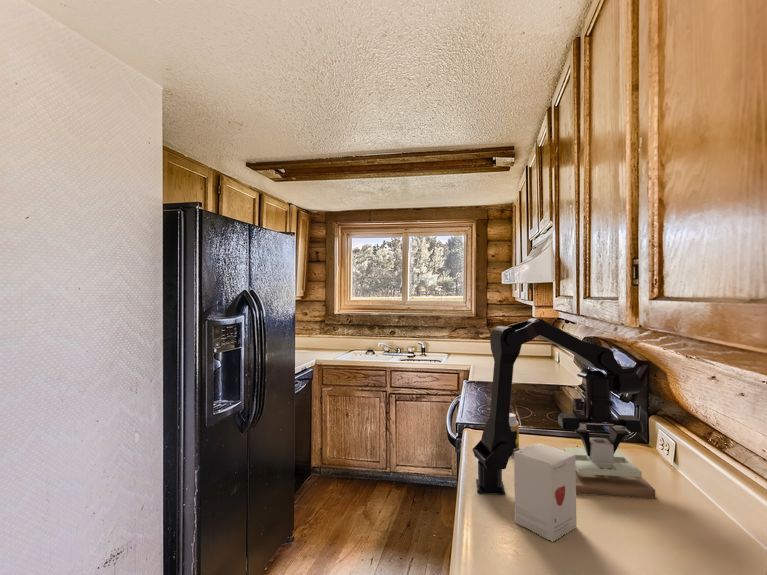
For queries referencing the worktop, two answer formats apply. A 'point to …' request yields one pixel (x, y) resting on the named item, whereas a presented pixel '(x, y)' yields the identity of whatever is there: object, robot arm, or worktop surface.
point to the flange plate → (603, 460)
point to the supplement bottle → (514, 427)
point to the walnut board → (613, 485)
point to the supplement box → (545, 490)
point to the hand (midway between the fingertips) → (599, 456)
